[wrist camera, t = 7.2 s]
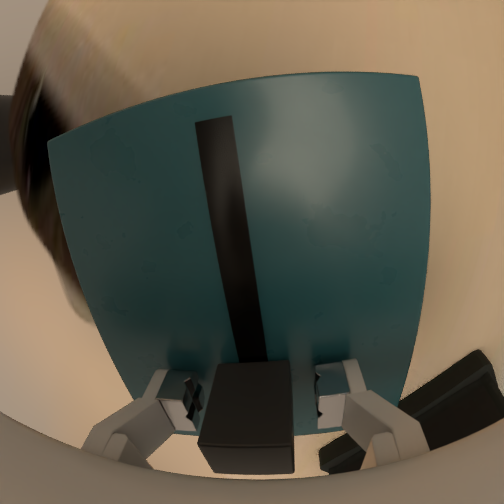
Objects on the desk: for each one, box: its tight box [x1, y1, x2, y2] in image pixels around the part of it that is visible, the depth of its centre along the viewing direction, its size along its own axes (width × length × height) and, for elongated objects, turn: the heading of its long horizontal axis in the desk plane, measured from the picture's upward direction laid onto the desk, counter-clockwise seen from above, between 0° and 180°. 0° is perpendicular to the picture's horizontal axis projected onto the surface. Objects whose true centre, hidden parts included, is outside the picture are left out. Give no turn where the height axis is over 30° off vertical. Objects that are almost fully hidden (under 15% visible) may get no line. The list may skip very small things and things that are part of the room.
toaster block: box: [47, 72, 431, 436], centre depth 12 cm, size 13×15×6 cm
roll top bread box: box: [319, 350, 504, 475], centre depth 13 cm, size 17×14×20 cm
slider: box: [197, 360, 295, 475], centre depth 8 cm, size 2×2×4 cm
